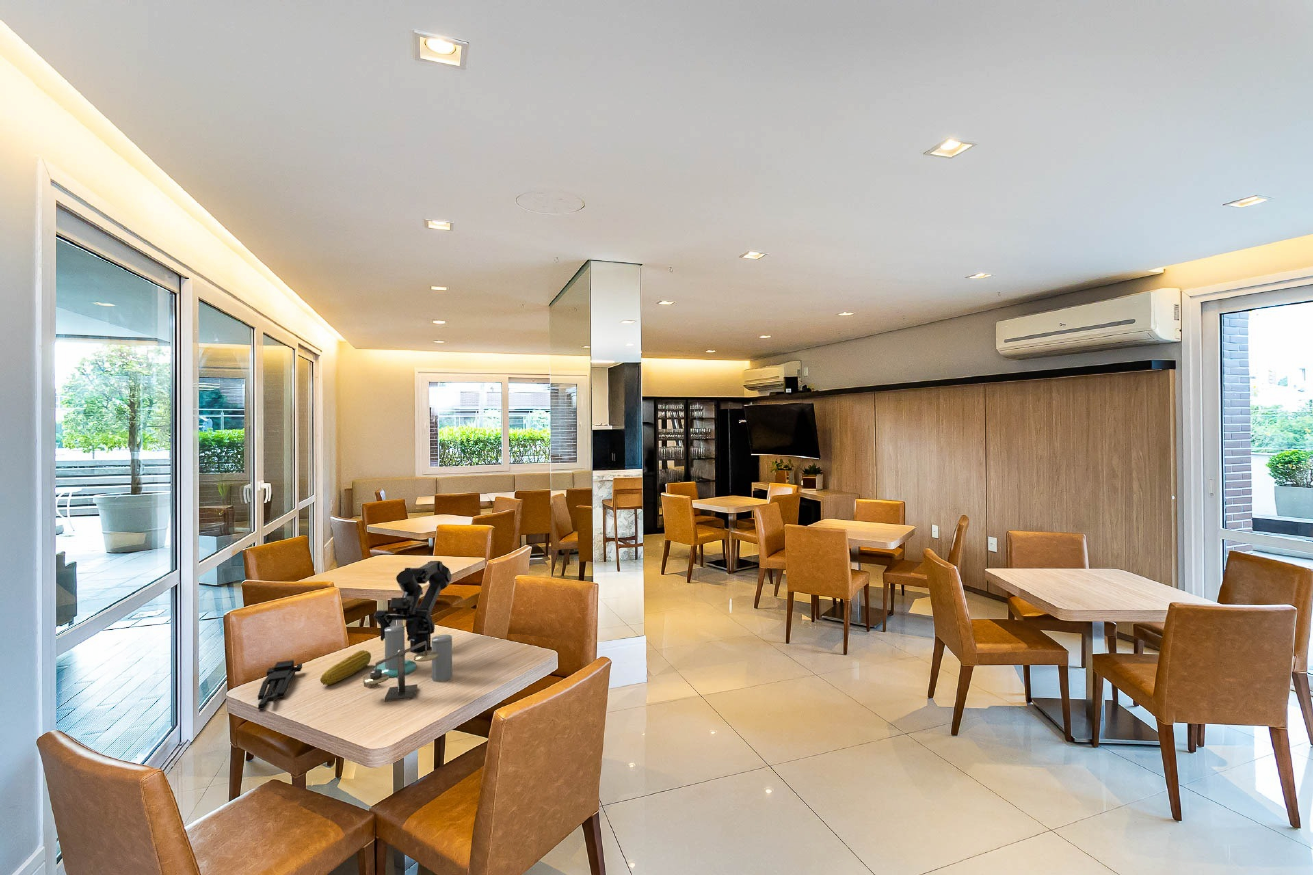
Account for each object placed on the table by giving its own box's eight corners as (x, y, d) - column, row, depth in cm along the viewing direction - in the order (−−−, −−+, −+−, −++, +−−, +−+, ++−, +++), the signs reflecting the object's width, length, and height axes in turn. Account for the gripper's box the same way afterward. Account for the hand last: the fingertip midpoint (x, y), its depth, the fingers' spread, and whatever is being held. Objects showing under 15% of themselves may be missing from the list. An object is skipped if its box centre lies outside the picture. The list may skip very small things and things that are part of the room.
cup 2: (443, 673, 196) (443, 633, 196) (456, 676, 193) (456, 636, 193) (427, 679, 191) (427, 638, 191) (440, 682, 187) (440, 641, 188)
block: (372, 683, 188) (372, 673, 189) (378, 685, 187) (378, 675, 187) (363, 686, 186) (363, 677, 186) (369, 688, 184) (369, 678, 184)
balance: (439, 685, 185) (439, 636, 186) (436, 695, 178) (436, 644, 178) (366, 693, 180) (366, 642, 180) (360, 704, 172) (360, 651, 173)
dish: (399, 661, 208) (399, 657, 208) (424, 667, 202) (423, 663, 202) (365, 673, 197) (365, 669, 197) (389, 680, 190) (389, 676, 190)
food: (359, 664, 206) (359, 647, 206) (373, 665, 205) (373, 648, 205) (315, 688, 185) (315, 669, 185) (332, 689, 184) (332, 670, 184)
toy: (284, 711, 172) (302, 672, 199) (284, 694, 172) (302, 658, 199) (246, 717, 168) (269, 676, 196) (245, 700, 168) (269, 662, 196)
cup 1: (397, 662, 204) (397, 624, 204) (408, 665, 200) (408, 626, 201) (380, 668, 198) (380, 629, 199) (392, 671, 195) (392, 631, 195)
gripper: (376, 587, 206) (358, 628, 195) (428, 586, 205) (413, 628, 193) (388, 603, 214) (371, 644, 202) (438, 603, 212) (424, 644, 201)
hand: (394, 640), depth 200 cm, fingers open, 9 cm apart
